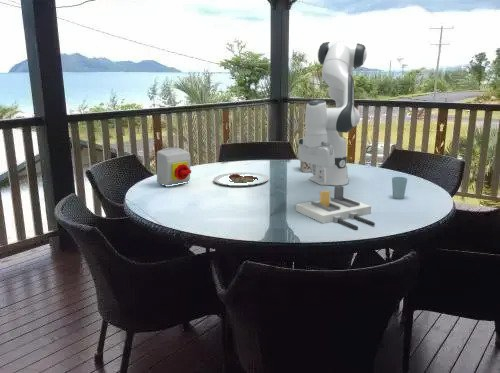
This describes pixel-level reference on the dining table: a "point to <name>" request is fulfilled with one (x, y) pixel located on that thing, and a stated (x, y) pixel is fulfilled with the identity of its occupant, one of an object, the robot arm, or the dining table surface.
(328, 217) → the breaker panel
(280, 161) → the dining table surface
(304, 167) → the decorative jar
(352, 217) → the power cords
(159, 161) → the electrical switch box
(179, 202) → the dining table surface
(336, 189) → the charcoal toggle
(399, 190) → the cup
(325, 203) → the amber toggle
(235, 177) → the plated food
